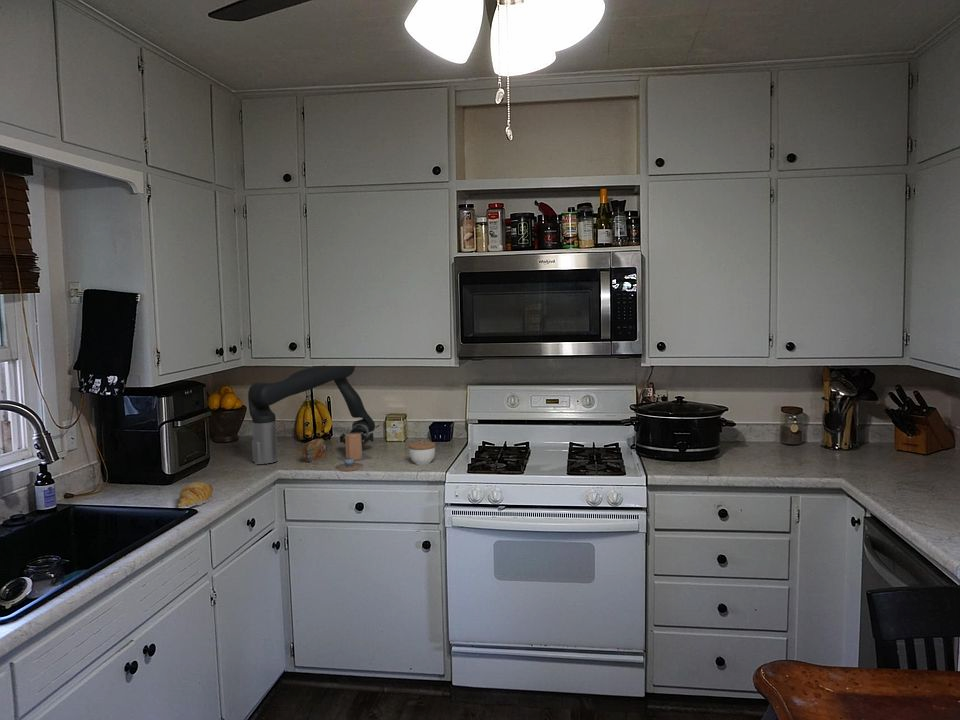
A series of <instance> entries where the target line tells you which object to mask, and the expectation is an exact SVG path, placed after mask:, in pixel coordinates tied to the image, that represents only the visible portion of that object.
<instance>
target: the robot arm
mask: <svg viewBox="0 0 960 720" xmlns="http://www.w3.org/2000/svg"><path fill="white" fill-rule="evenodd" d="M355 369H356V365H355V366H325V365H318V366H312V367H307V368H304V369H301V370H298V371H295V372H293V373H292V374H290V375H289V376H288V377H287V378H285V379H284V380H280V381H276V382H270V383H269V382H260V381H259V382H258V381H257V382H255V383H252V384H251V385H250V386H249V389H248V392H247V400H248V409H249V415H250V418H251V422H252V423H251V424H252V436H253V437H252V440H251V454H252V462H253V461H254V462H256V463H258V464H259V463H273V462H276V461H278V462H279V458H278V457H279V456H278V455H279V454H278V453H279V452H278V440H277V439H278V436H277V421H276V420H277V419H276V413H274V412H273V411H272V409H271V407H270V406H272V405H274V404H276V403H278V402H280V401H282V400H284V399H286V398H288V397H291V396H294V395H298V394H301V393H304V392H306V391H310V390H313V389H314V388H315V389H316V388H317V387H320V386H323V385H325V384H327V383H329V382H332V381H333V382H334V383H335V385H336V387H337V388H338V390H339V392H340V393H341V395H342V397H343V399H344V403H345V404H346V406H347V408H348V411H349V414H350V416H351V417H352V418H354V419H355V418H356V419H357V418H358V420H355V421H354V422H352V425H351V428H352V429H351V430H350V432H349V433H361V437H362V444H363V443H364V444H367V443H368V442H369V441H370V442H373V441H374V433H373V431H374V430H375V428H376V424H375V421H374V419H373V418H372V417H371V416H370V415H369V413H368V412H367V410H366V409H365V406H364V403H363V400H362V397H361V396H360V395H359V393H358V392H357V390H355V388H354V387H353V386H352V385H351V383H350V382H349V380H348V377H350V376H351V375H352V374H353V373H354V372H355ZM359 418H361V419H359ZM345 435H346V434H345V433H341V435H340V436H339V443H343V444H344V445H345ZM276 463H277V462H276ZM273 464H274V463H273Z"/></svg>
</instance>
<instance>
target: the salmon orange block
mask: <svg viewBox="0 0 960 720" xmlns="http://www.w3.org/2000/svg"><path fill="white" fill-rule="evenodd" d="M344 445H345V456H346V459H348V458H353V459H354V460H357V459H361V458H362V454H363V443H362V437H361V433H350V432H349V433H346V434H345V444H344Z"/></svg>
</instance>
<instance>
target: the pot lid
mask: <svg viewBox="0 0 960 720" xmlns="http://www.w3.org/2000/svg"><path fill="white" fill-rule="evenodd" d="M362 468H364V464H363V463H359V462H354V459H353V458H348V459H345V462H344V463H340V464H338V465H336V466H335V467H334V469H335V470H337V471H339V472H355V471H354V470H356V471H358V470H360V469H362Z"/></svg>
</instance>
